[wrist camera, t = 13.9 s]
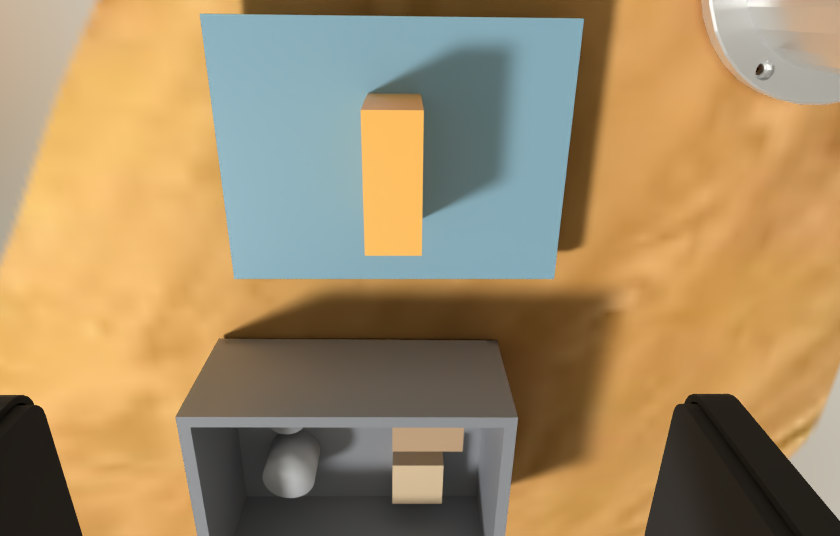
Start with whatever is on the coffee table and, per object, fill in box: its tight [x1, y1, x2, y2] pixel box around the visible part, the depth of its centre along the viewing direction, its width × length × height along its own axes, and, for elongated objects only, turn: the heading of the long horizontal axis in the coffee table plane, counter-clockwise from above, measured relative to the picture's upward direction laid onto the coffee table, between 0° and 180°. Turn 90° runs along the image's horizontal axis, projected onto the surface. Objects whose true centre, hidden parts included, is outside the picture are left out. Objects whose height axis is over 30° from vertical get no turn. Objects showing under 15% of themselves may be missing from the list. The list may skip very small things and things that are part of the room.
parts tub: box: [176, 339, 518, 536], centre depth 33 cm, size 16×12×7 cm
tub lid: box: [200, 14, 584, 279], centre depth 26 cm, size 16×12×6 cm
